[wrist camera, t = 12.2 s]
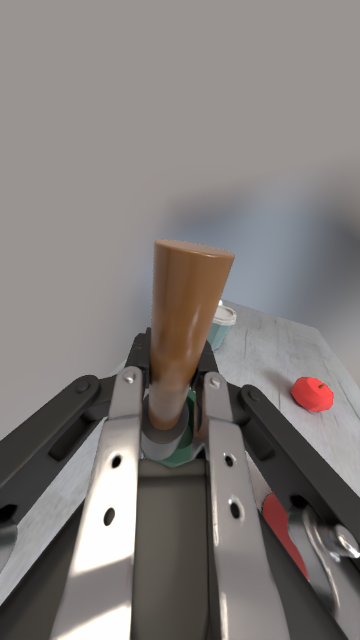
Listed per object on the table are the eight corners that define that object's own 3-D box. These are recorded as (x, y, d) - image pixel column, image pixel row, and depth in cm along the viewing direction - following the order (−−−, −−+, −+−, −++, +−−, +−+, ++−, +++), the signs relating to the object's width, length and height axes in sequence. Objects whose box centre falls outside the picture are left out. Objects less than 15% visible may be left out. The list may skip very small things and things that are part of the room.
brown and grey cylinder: (132, 454, 13) (91, 236, 3) (148, 405, 17) (153, 234, 7) (177, 465, 13) (294, 274, 3) (183, 413, 16) (242, 250, 6)
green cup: (134, 470, 23) (131, 452, 17) (152, 407, 31) (154, 380, 25) (192, 484, 22) (210, 472, 16) (195, 416, 30) (207, 391, 24)
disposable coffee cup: (194, 351, 47) (204, 315, 39) (195, 332, 56) (204, 299, 47) (224, 358, 46) (241, 322, 38) (221, 337, 55) (234, 305, 47)
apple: (288, 405, 36) (309, 389, 31) (284, 381, 42) (301, 365, 38) (324, 423, 33) (352, 408, 29) (314, 395, 40) (336, 379, 35)
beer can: (280, 582, 17) (370, 625, 10) (252, 496, 22) (299, 487, 16) (323, 569, 18) (430, 601, 11) (286, 490, 23) (344, 480, 17)
